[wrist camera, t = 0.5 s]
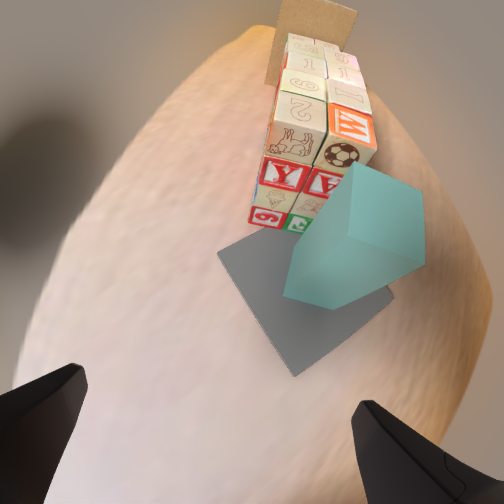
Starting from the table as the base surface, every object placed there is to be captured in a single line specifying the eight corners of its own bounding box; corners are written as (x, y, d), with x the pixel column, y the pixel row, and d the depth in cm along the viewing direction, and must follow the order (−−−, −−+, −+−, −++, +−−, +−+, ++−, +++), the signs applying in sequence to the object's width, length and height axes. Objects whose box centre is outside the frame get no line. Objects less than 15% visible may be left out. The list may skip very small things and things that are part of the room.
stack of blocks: (274, 89, 34) (293, 11, 22) (319, 100, 34) (348, 26, 23) (246, 224, 25) (272, 116, 14) (315, 239, 25) (380, 147, 14)
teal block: (333, 310, 23) (425, 264, 12) (282, 296, 23) (347, 235, 12) (341, 261, 25) (421, 191, 14) (294, 246, 25) (354, 160, 14)
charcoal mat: (391, 299, 25) (394, 298, 25) (293, 376, 21) (295, 376, 21) (323, 199, 28) (324, 197, 27) (216, 254, 24) (217, 252, 24)
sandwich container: (325, 56, 40) (350, -11, 26) (323, 101, 34) (360, 12, 21) (278, 43, 40) (296, -27, 26) (262, 84, 34) (284, -11, 20)
